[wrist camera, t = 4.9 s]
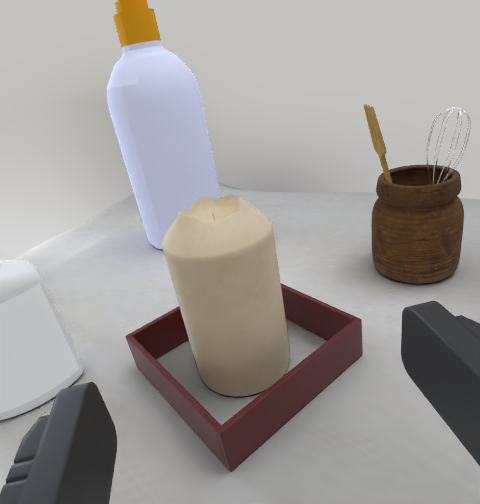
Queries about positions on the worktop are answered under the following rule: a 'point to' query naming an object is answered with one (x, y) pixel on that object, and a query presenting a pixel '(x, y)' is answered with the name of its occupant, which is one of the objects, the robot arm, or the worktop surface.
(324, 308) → the dark red square frame
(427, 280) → the utensil holder
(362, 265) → the worktop surface
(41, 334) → the eye dropper bottle
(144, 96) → the soap bottle
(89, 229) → the worktop surface
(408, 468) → the worktop surface
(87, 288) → the worktop surface
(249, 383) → the candle
